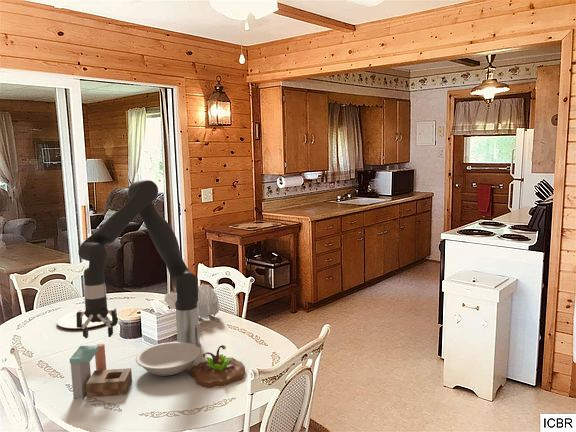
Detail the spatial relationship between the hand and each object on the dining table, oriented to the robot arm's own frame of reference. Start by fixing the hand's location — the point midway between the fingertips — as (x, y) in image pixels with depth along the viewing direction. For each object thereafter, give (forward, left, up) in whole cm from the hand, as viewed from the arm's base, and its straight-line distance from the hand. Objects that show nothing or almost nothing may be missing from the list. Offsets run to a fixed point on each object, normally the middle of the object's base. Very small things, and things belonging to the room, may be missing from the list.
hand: (98, 337), depth 177 cm
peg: (0, 0, -15) cm, 15 cm away
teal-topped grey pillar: (+2, +11, -15) cm, 19 cm away
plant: (-45, +5, -16) cm, 48 cm away
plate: (+24, -64, -16) cm, 70 cm away
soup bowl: (-25, -1, -16) cm, 30 cm away
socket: (-6, +11, -15) cm, 20 cm away
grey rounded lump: (-31, -55, -16) cm, 65 cm away
